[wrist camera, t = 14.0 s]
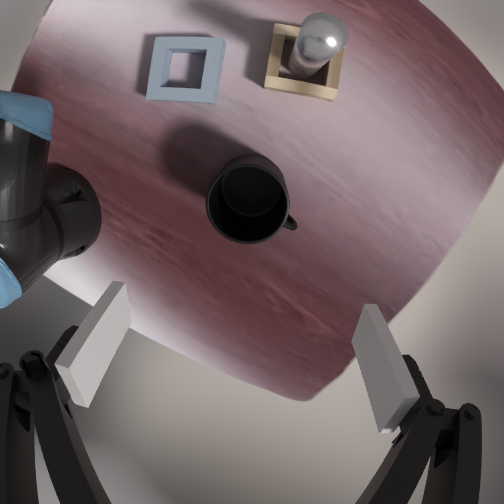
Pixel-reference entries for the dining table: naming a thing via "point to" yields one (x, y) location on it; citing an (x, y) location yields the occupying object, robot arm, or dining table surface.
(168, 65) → the socket block
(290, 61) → the pin
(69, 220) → the robot arm
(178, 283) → the dining table surface
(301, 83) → the block
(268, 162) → the mug
